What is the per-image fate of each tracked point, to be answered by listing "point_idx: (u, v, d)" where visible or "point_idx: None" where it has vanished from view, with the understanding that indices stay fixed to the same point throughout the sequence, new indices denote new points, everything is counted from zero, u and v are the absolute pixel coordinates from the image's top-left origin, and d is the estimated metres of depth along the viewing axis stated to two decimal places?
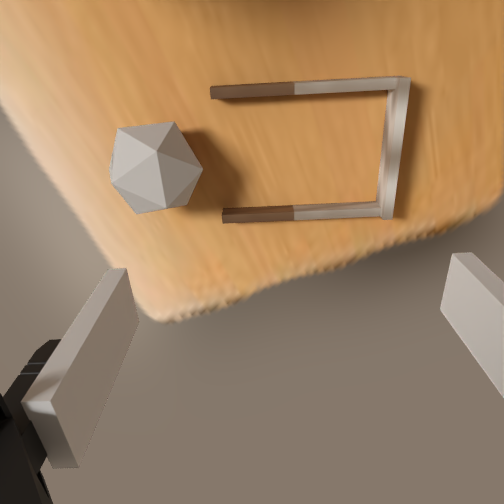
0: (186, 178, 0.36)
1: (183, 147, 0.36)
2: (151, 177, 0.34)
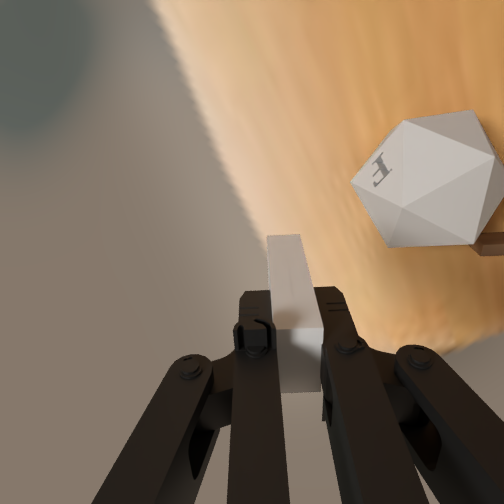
0: (499, 197, 0.23)
1: (494, 149, 0.23)
2: (469, 198, 0.21)
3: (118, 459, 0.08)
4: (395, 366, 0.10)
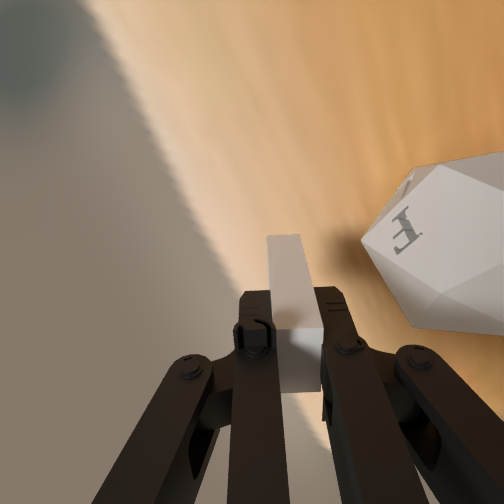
0: None
1: None
2: None
3: (118, 459, 0.08)
4: (394, 366, 0.10)
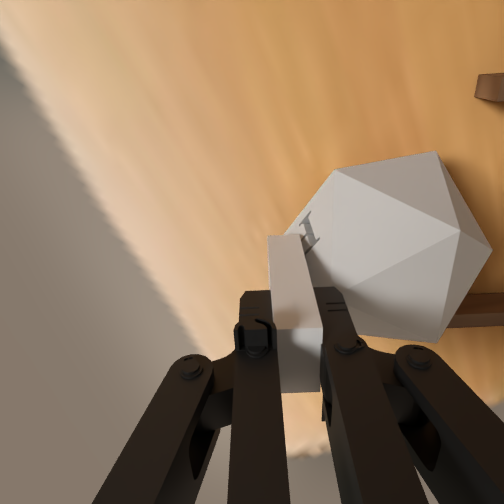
0: (472, 275, 0.17)
1: (465, 207, 0.17)
2: (427, 285, 0.15)
3: (119, 459, 0.08)
4: (393, 366, 0.10)
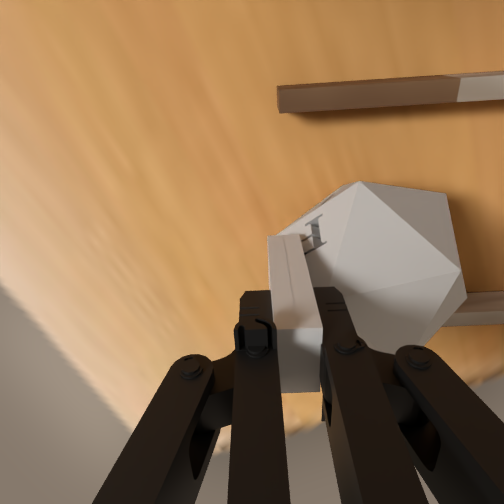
0: (447, 315, 0.18)
1: None
2: (414, 313, 0.15)
3: (119, 459, 0.08)
4: (393, 365, 0.10)
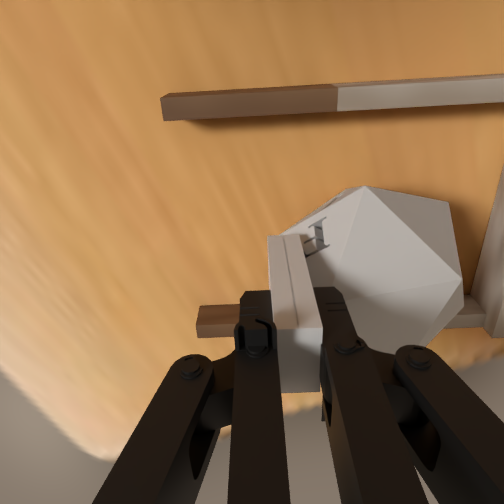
0: (445, 322, 0.18)
1: None
2: (413, 319, 0.16)
3: (119, 459, 0.08)
4: (393, 366, 0.10)
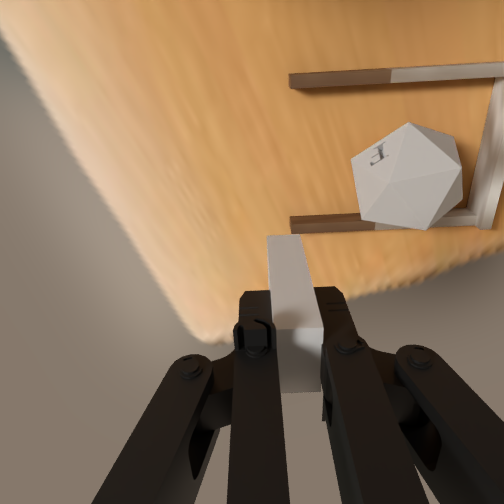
0: (451, 204, 0.31)
1: None
2: (435, 193, 0.29)
3: (118, 459, 0.08)
4: (394, 366, 0.10)
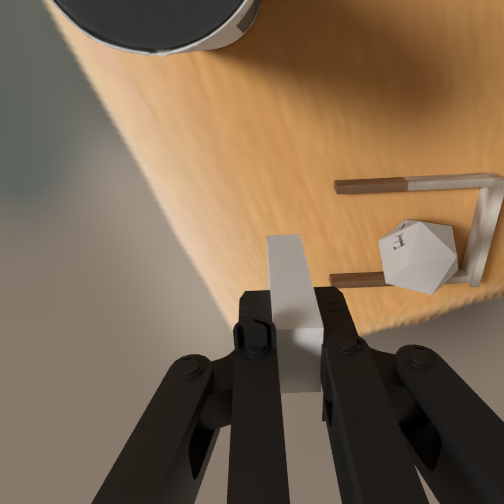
0: (450, 275, 0.44)
1: None
2: (439, 271, 0.42)
3: (118, 459, 0.08)
4: (394, 365, 0.10)
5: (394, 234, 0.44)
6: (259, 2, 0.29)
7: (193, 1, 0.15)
